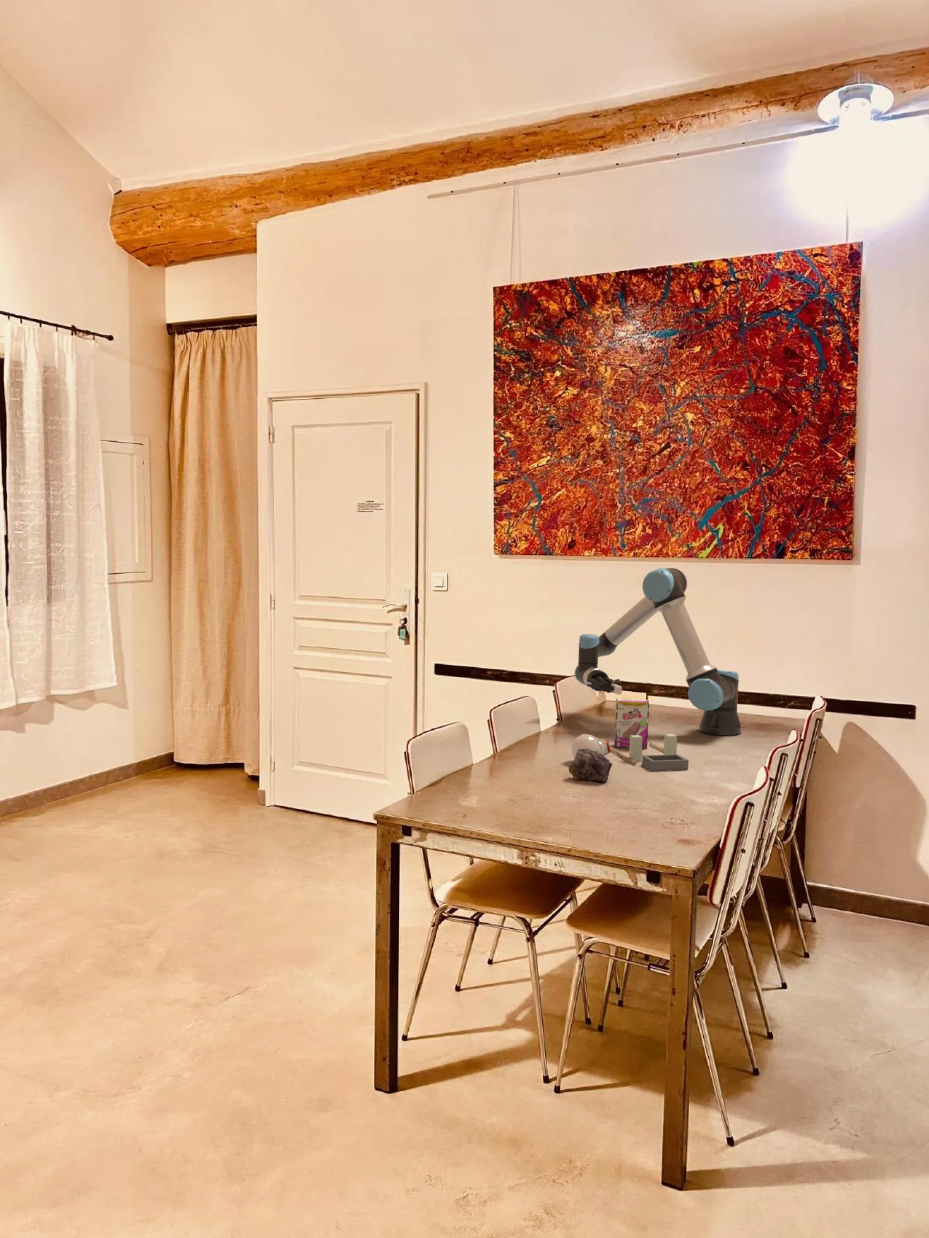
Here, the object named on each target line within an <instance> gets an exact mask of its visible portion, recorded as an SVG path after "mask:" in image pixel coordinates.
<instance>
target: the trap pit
mask: <svg viewBox="0 0 929 1238" xmlns="http://www.w3.org/2000/svg"><path fill="white" fill-rule="evenodd" d="M689 761H690V760H689V759H687V758H685V757H684V756H682V755H680V754H677V753H676V754H669V755H664V754H649V755H647V754H645V755H643V754H642V762H641V765H642V766H643V767H645V768H646V769H648V770H650V771H651V772H661V771H662V772H663V771H664V772H665V771H685V770H687V771H688V770H689Z"/></svg>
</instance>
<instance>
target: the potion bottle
mask: <svg viewBox="0 0 929 1238" xmlns="http://www.w3.org/2000/svg"><path fill="white" fill-rule="evenodd" d="M609 745H610V742H609V740H608V739H605V738H600V737H595V736H594V735H592V734H588V733H582V734H580V735H579V736H576V738H574V740H573V741H572V742H571V749H570V751H571V754H572V756H573V758H575V756H576V754H577V751H578V750H579V749H589V750H592V751H595V752H597V753H600V754H602V755H603V756H604V757H606V756H607V755H608V754H610V753H611V751H610V747H609Z"/></svg>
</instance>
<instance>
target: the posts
mask: <svg viewBox="0 0 929 1238" xmlns="http://www.w3.org/2000/svg"><path fill="white" fill-rule="evenodd" d="M663 738H664V740H663V741H664V742H663V743H664V744H663V748H664V752H663V755H669V754H677V752H678V751H677V749H678V748H677V746H678V736H677V735H676V734H675V733H668V734H667V733H665V734H664V737H663ZM628 751H629V754H628V755H629V756H628V757H629V758H631V759H632V760H634V761H636V763H639V762H640V763H642V756H643V753H642V752H643V749H642V737H641V736H639V735H630V748H629V750H628Z"/></svg>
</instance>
